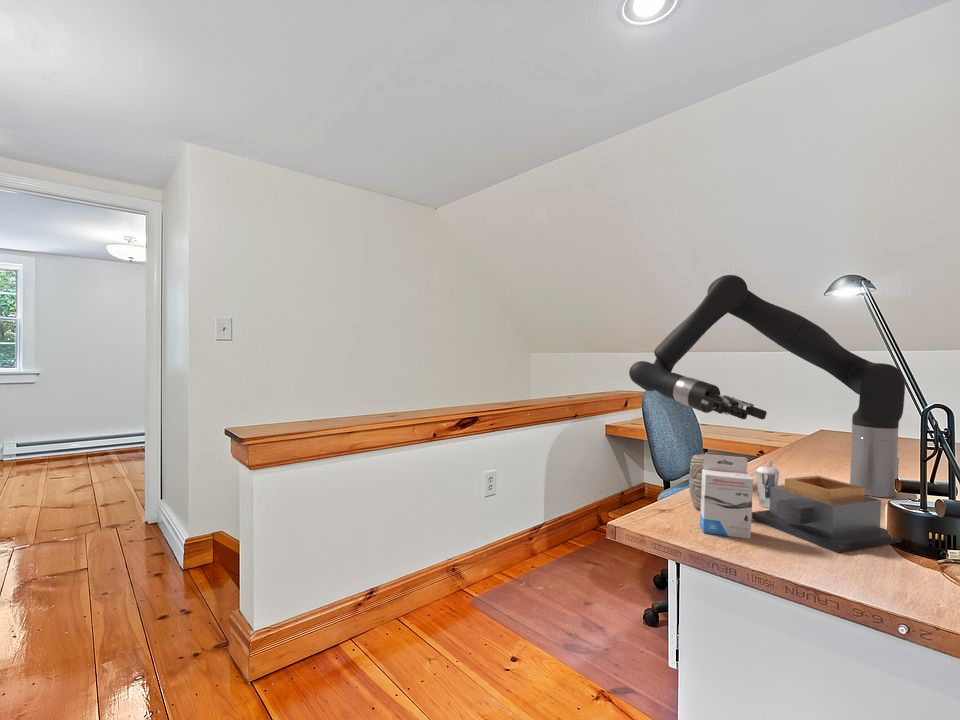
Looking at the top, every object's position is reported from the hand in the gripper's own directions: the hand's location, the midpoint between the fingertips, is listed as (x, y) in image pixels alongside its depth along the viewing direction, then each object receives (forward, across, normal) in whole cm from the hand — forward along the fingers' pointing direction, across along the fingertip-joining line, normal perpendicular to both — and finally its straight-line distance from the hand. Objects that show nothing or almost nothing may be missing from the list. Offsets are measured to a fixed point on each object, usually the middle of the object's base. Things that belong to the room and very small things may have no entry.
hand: (756, 415), depth 115 cm
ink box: (+12, -24, +20) cm, 33 cm away
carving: (+3, -14, +22) cm, 26 cm away
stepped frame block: (+22, -6, +16) cm, 28 cm away
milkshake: (+8, +1, +19) cm, 21 cm away
